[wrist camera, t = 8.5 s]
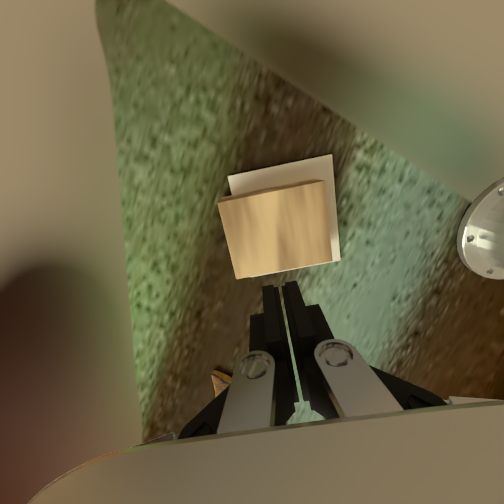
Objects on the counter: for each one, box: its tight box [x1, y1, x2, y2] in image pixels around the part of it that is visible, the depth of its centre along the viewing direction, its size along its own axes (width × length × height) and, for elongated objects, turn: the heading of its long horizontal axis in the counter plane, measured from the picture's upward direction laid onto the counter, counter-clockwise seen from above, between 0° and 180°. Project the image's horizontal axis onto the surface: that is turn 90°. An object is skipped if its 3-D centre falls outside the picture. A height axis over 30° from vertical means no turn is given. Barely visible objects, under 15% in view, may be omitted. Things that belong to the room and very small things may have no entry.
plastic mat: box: [228, 154, 340, 277], centre depth 27 cm, size 11×12×1 cm
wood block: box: [218, 178, 333, 279], centre depth 25 cm, size 4×8×10 cm
